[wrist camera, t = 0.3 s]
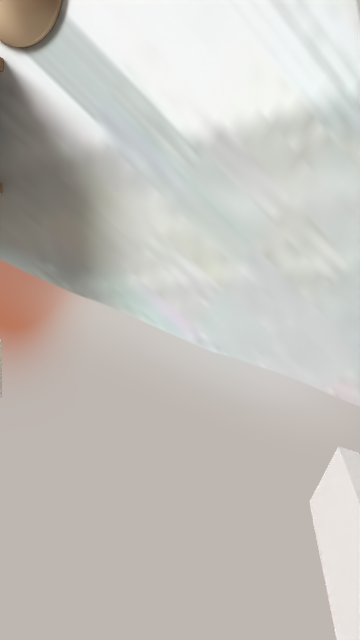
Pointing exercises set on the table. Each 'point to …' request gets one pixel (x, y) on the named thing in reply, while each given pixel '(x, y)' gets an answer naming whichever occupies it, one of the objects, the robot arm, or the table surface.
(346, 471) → the robot arm
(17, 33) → the coaster
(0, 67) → the cradle
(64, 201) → the table surface
